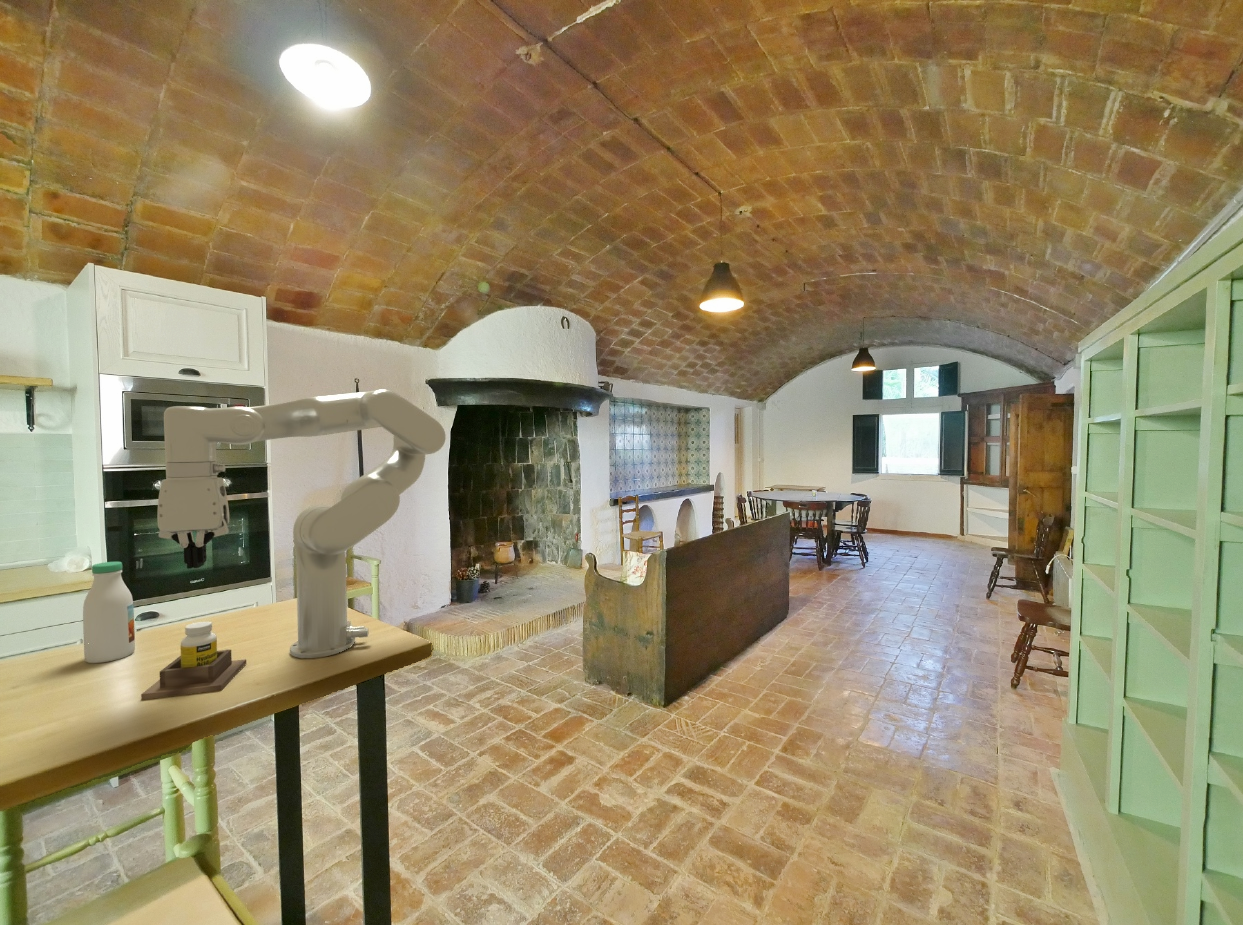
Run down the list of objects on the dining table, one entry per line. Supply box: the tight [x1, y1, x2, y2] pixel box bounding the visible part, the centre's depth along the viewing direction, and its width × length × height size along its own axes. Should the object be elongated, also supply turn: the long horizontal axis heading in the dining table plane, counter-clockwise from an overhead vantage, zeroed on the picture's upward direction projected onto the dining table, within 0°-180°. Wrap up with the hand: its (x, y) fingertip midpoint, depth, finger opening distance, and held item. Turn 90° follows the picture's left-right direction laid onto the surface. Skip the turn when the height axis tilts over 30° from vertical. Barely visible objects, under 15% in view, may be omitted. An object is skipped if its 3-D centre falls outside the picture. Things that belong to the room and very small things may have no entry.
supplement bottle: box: [180, 620, 218, 668], centre depth 100 cm, size 5×5×10 cm
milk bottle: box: [82, 561, 136, 664], centre depth 111 cm, size 8×8×20 cm
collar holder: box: [140, 649, 247, 701], centre depth 100 cm, size 12×12×4 cm
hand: (195, 566), depth 101 cm, fingers closed
